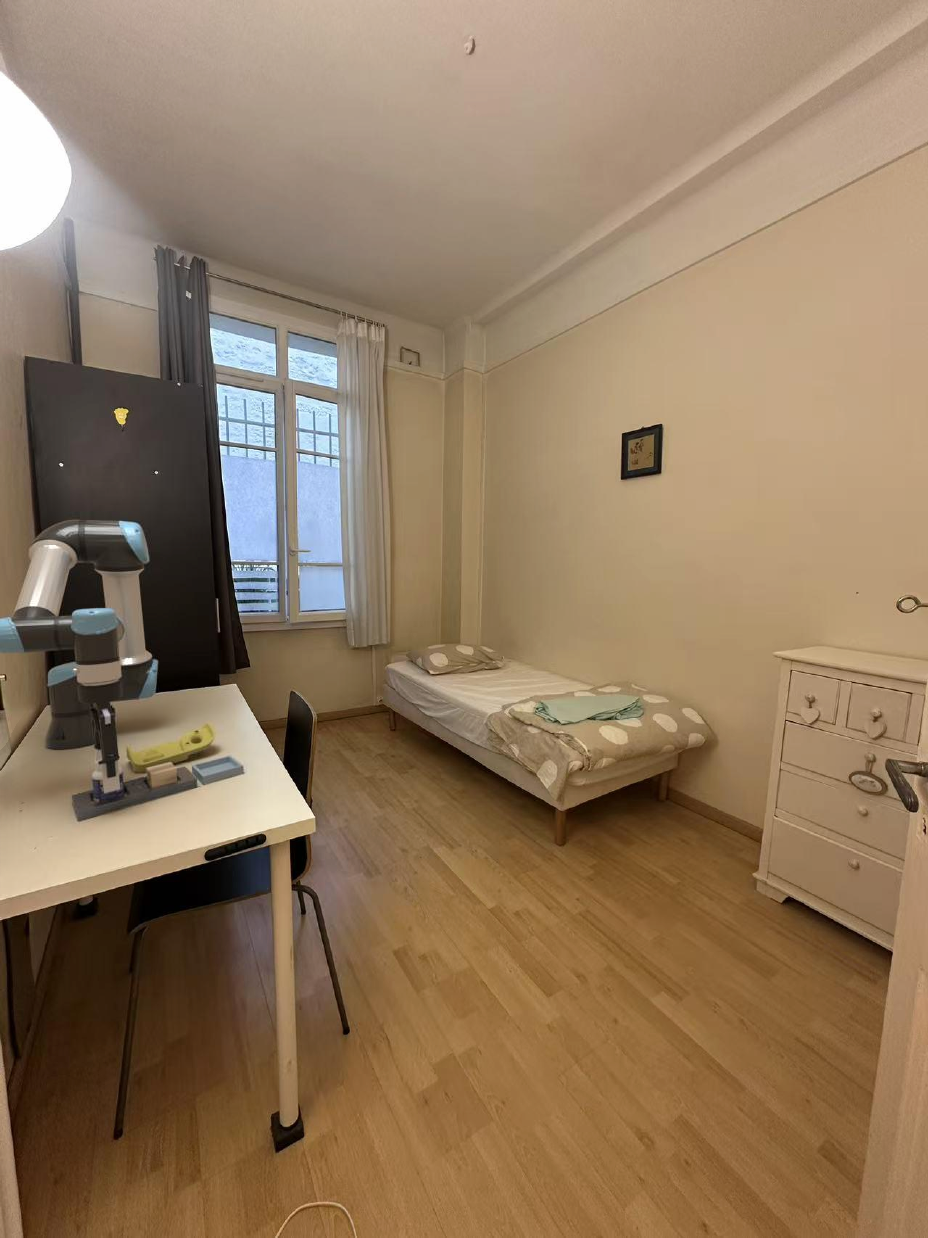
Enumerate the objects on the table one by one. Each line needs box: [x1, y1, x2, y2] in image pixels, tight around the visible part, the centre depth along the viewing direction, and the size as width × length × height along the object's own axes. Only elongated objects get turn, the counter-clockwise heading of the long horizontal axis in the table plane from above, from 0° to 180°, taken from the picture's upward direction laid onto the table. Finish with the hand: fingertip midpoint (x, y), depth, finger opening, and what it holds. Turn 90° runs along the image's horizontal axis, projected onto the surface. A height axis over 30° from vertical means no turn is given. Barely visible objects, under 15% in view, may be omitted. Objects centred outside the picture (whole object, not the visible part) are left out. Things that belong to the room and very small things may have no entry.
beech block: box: [146, 762, 177, 789], centre depth 112 cm, size 5×5×5 cm
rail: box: [71, 766, 198, 822], centre depth 109 cm, size 10×22×2 cm, turn 134°
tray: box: [191, 754, 245, 786], centre depth 121 cm, size 9×9×2 cm
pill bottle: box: [91, 758, 125, 804], centre depth 105 cm, size 5×5×10 cm
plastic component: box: [125, 722, 216, 773], centre depth 130 cm, size 20×7×10 cm
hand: (108, 783), depth 105 cm, fingers open, 8 cm apart
